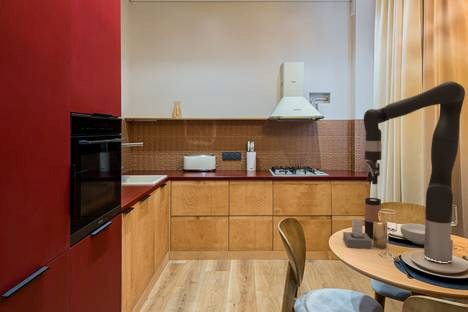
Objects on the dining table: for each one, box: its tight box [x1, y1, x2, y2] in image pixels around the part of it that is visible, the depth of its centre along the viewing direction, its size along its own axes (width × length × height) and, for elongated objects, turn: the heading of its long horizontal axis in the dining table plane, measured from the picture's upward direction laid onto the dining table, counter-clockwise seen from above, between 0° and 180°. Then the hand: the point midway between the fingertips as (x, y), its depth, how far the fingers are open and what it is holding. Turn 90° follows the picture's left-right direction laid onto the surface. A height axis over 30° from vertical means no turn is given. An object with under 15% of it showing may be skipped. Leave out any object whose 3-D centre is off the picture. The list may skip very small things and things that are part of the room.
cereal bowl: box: [400, 223, 425, 246], centre depth 150 cm, size 17×17×7 cm
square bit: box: [351, 218, 364, 238], centre depth 148 cm, size 4×4×12 cm
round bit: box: [372, 220, 388, 250], centre depth 144 cm, size 6×6×12 cm
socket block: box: [342, 231, 373, 250], centre depth 148 cm, size 11×11×4 cm
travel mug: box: [364, 197, 382, 239], centre depth 158 cm, size 8×8×20 cm
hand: (372, 182), depth 149 cm, fingers open, 8 cm apart
